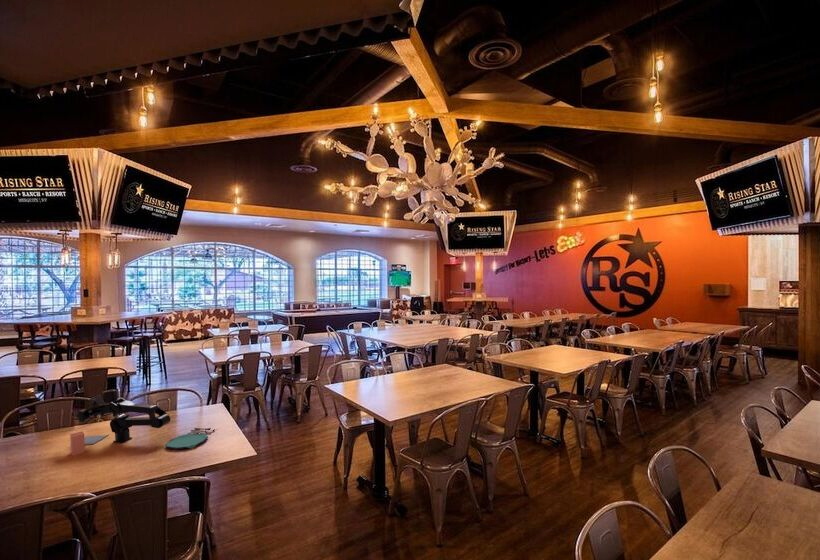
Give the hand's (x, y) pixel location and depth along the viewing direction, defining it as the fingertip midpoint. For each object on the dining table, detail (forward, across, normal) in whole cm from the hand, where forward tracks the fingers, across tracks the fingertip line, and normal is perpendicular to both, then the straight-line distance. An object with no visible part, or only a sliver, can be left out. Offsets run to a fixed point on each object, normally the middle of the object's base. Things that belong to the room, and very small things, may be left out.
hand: (80, 412), depth 225 cm
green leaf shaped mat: (-63, 0, +25) cm, 67 cm away
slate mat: (-3, +1, +17) cm, 17 cm away
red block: (-10, +16, +17) cm, 26 cm away
